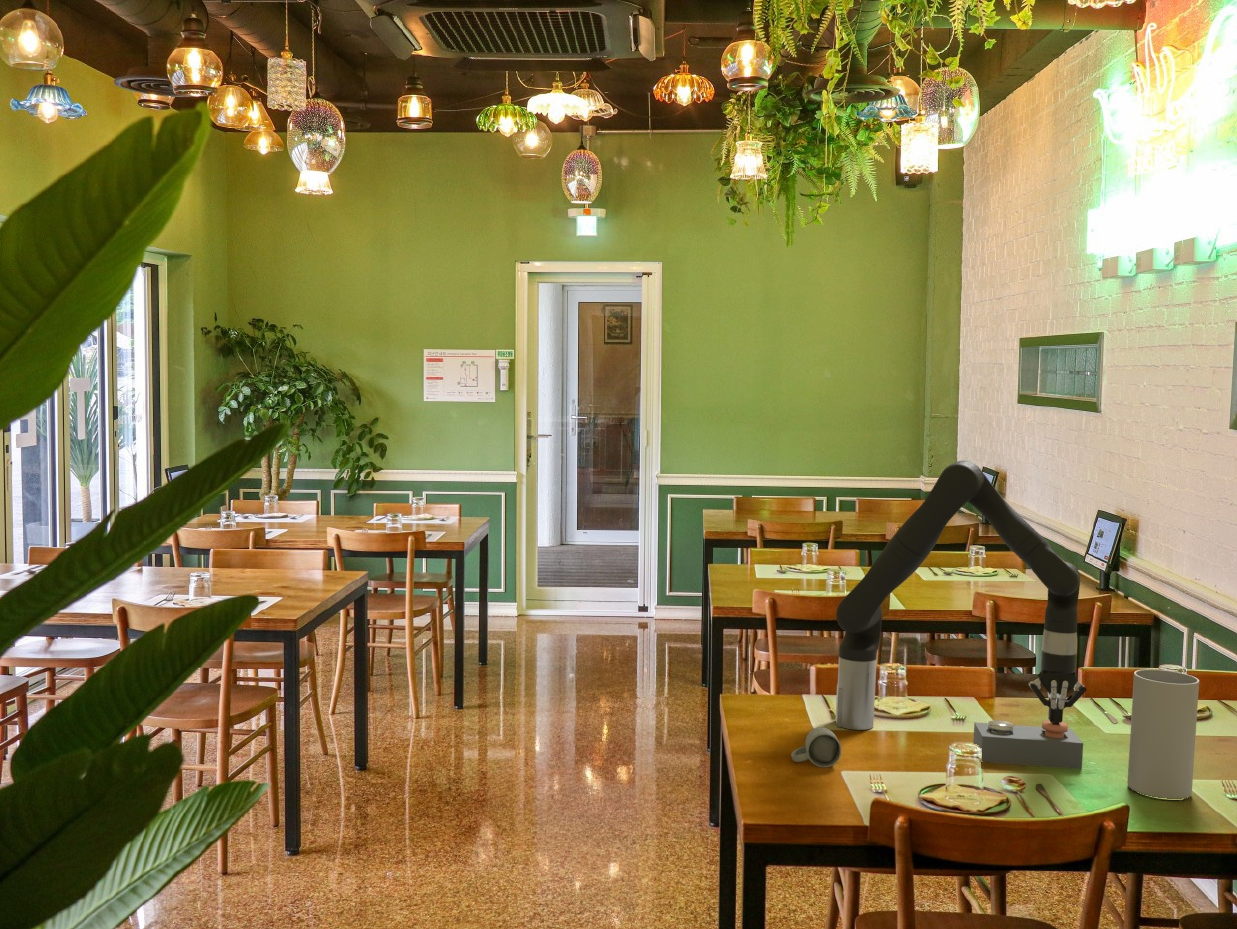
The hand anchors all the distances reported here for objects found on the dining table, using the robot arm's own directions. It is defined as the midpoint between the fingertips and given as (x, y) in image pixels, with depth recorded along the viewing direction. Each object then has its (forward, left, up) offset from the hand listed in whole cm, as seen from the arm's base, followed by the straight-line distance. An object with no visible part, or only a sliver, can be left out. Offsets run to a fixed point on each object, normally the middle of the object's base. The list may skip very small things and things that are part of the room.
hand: (1055, 723), depth 264 cm
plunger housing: (-6, 0, -8) cm, 10 cm away
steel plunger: (-12, 0, -7) cm, 14 cm away
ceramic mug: (-55, -14, -9) cm, 57 cm away
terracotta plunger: (0, 0, -6) cm, 6 cm away
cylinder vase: (+18, -17, -9) cm, 26 cm away
